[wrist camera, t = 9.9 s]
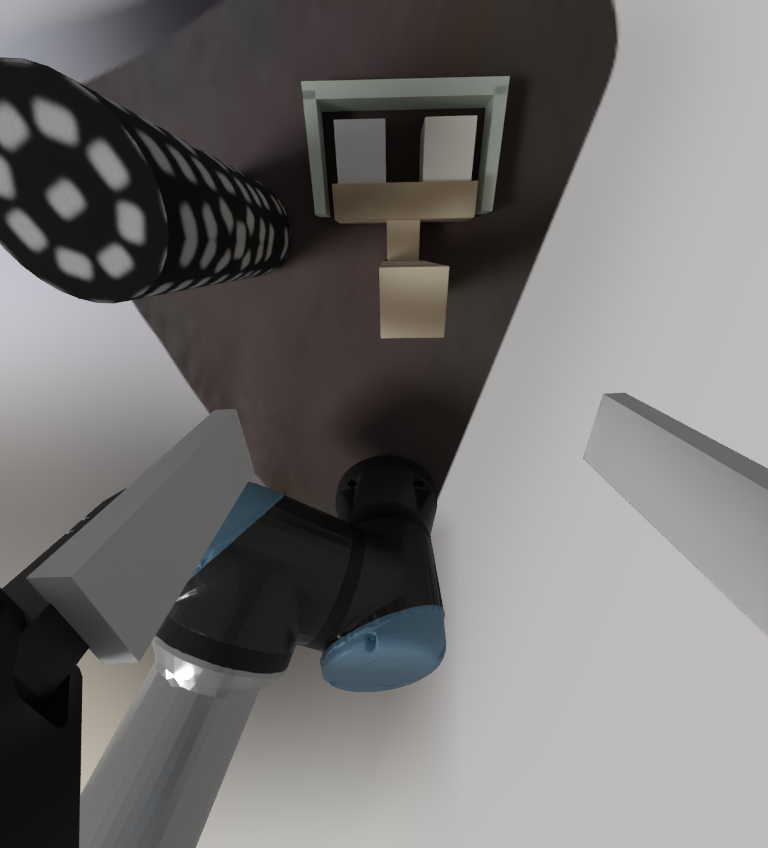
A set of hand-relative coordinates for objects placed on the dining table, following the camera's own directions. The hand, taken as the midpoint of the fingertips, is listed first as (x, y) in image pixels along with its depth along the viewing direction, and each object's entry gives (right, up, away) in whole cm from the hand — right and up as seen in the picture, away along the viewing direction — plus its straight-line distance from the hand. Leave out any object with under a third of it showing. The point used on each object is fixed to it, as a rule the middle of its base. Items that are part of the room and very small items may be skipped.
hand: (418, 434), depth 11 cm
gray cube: (-3, +24, +17) cm, 29 cm away
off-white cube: (+4, +24, +17) cm, 30 cm away
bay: (0, +24, +16) cm, 29 cm away
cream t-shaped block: (+1, +18, +20) cm, 27 cm away
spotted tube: (-15, +20, +19) cm, 31 cm away
